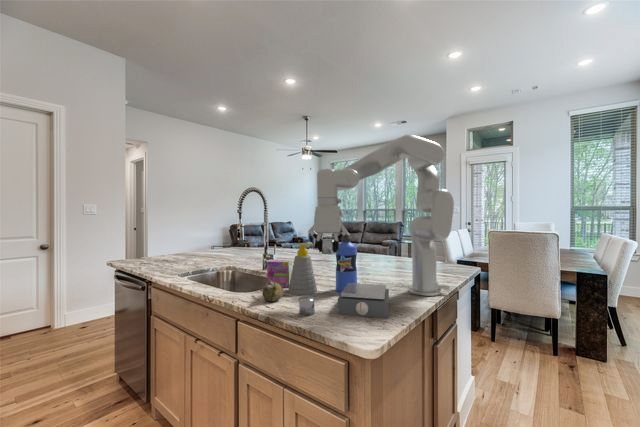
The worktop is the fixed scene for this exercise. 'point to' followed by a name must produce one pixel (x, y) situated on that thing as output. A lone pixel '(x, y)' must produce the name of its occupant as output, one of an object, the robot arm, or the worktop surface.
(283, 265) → the box
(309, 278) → the soap bottle
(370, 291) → the pan
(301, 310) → the cylinder
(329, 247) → the cylinder
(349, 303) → the base
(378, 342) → the worktop surface
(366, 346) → the worktop surface
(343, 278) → the blue bottle
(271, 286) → the onion
